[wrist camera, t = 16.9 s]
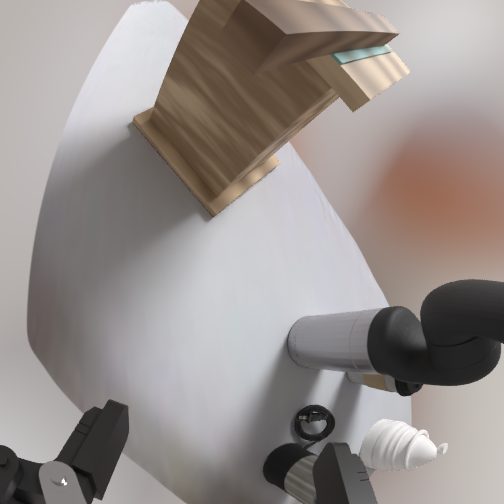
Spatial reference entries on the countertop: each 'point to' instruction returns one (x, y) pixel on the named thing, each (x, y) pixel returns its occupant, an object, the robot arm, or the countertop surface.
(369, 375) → the coffee cup
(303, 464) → the milk frother
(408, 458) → the honey pot
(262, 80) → the oak lectern
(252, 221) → the countertop surface
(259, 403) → the countertop surface
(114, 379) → the countertop surface
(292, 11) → the walnut bar
